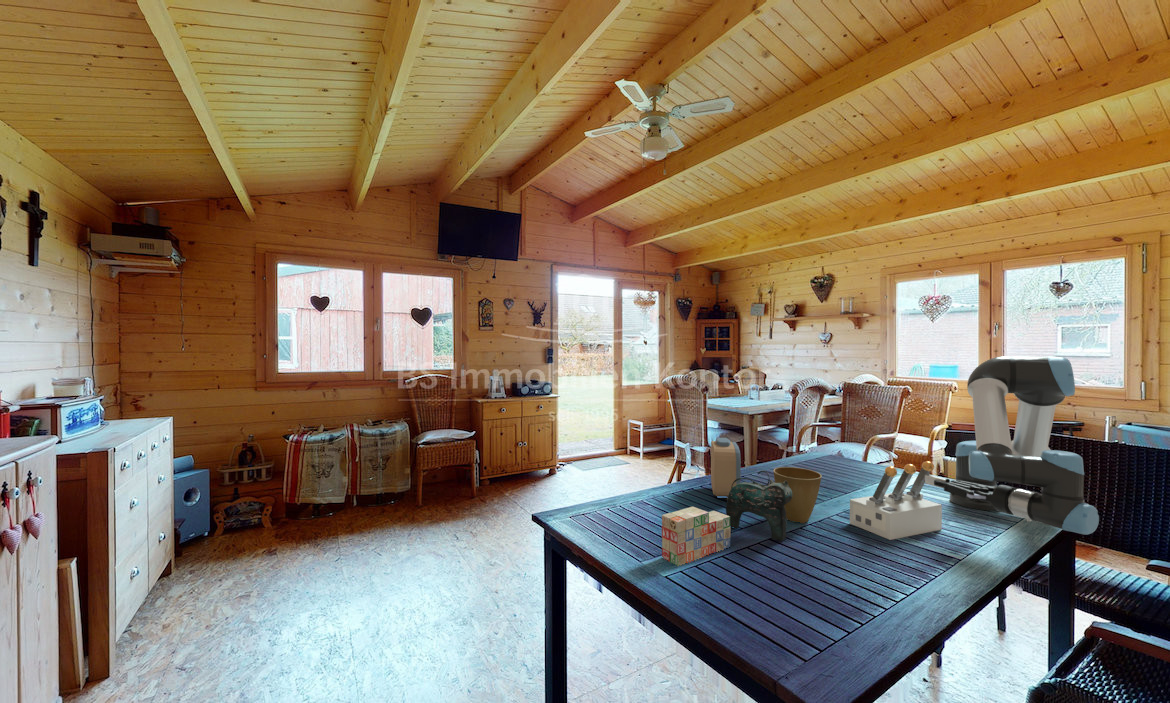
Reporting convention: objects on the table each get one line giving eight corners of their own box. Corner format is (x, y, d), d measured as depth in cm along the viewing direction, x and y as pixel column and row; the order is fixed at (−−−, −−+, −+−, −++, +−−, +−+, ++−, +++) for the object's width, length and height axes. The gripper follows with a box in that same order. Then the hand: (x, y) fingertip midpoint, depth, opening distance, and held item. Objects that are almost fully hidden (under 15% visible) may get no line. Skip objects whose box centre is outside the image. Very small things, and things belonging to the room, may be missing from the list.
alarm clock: (740, 503, 174) (740, 445, 174) (714, 501, 176) (714, 444, 176) (734, 487, 194) (734, 435, 194) (710, 486, 196) (711, 434, 196)
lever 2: (911, 493, 157) (929, 458, 151) (919, 499, 154) (938, 464, 148) (903, 494, 156) (921, 459, 150) (912, 501, 153) (931, 465, 147)
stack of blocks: (714, 540, 141) (714, 500, 141) (731, 548, 136) (731, 506, 136) (661, 558, 129) (661, 514, 129) (677, 567, 124) (677, 521, 124)
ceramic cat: (793, 539, 142) (793, 473, 141) (785, 545, 137) (785, 478, 137) (731, 522, 155) (731, 462, 155) (722, 528, 150) (722, 466, 150)
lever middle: (893, 496, 154) (911, 461, 148) (901, 502, 151) (920, 467, 145) (885, 497, 153) (903, 462, 147) (894, 504, 150) (913, 468, 144)
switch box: (898, 514, 162) (899, 487, 162) (941, 529, 149) (941, 499, 149) (848, 523, 154) (848, 494, 154) (889, 540, 141) (889, 508, 141)
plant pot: (773, 523, 154) (773, 475, 154) (773, 509, 168) (773, 465, 167) (823, 530, 148) (823, 480, 148) (819, 514, 162) (819, 469, 162)
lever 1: (874, 498, 151) (892, 463, 145) (882, 505, 148) (901, 470, 142) (866, 500, 150) (884, 464, 144) (875, 507, 147) (893, 471, 141)
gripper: (1000, 518, 125) (912, 492, 147) (1030, 512, 130) (940, 488, 152) (1001, 490, 125) (912, 469, 147) (1030, 485, 130) (940, 465, 152)
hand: (926, 479), depth 150 cm, fingers closed
